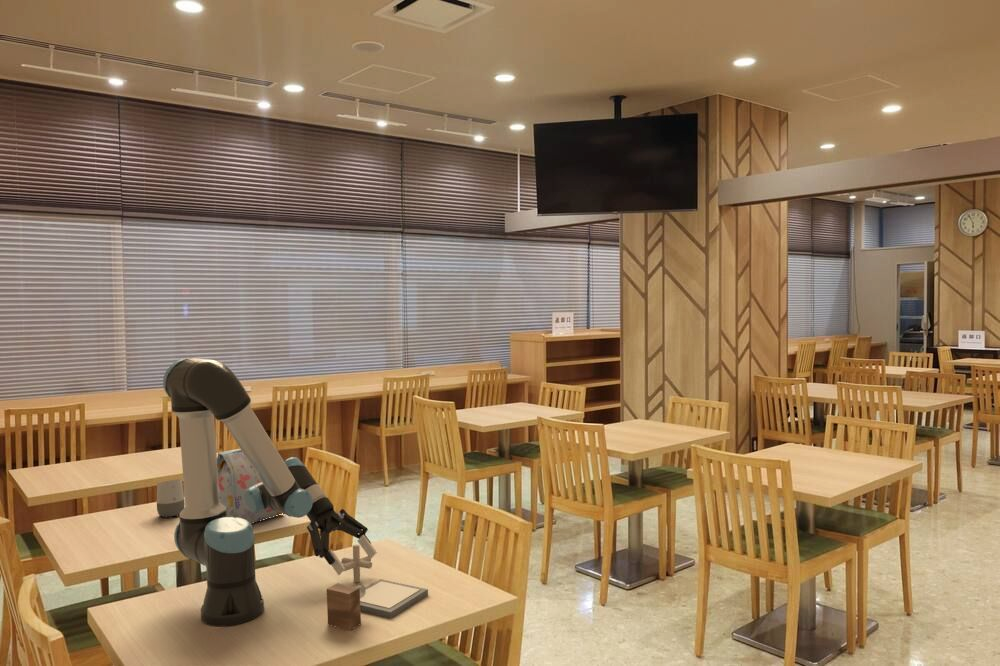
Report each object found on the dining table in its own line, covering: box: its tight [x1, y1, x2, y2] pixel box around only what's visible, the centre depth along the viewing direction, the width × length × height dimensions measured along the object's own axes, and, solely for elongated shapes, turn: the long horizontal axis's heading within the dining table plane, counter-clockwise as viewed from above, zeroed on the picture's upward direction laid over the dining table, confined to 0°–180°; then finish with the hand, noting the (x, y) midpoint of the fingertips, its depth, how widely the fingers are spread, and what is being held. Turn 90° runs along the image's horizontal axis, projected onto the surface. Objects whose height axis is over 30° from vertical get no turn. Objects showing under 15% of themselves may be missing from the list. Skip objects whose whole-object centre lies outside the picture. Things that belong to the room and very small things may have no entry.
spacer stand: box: [326, 578, 429, 631], centre depth 194 cm, size 26×16×9 cm, turn 150°
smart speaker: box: [156, 478, 185, 518], centre depth 281 cm, size 10×9×14 cm
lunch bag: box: [217, 448, 282, 524], centre depth 273 cm, size 22×17×26 cm
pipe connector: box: [340, 544, 373, 583], centre depth 212 cm, size 10×10×10 cm
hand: (358, 563), depth 211 cm, fingers open, 13 cm apart
